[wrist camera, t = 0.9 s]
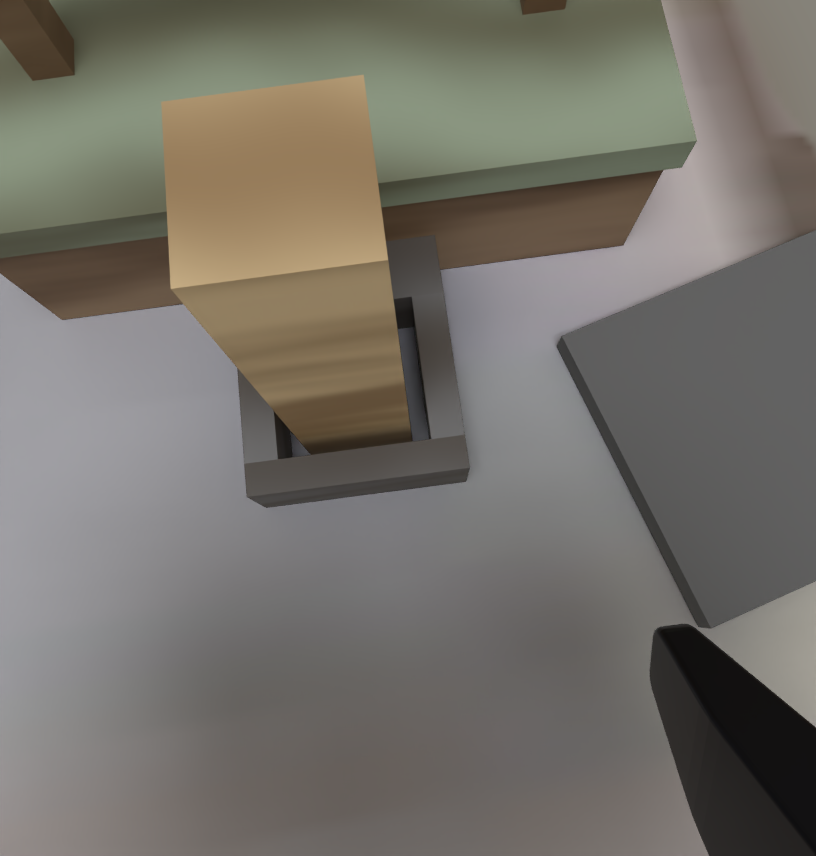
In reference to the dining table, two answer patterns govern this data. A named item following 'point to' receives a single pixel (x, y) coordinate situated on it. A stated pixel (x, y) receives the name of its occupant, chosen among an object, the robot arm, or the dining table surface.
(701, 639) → the robot arm
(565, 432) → the dining table surface
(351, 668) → the dining table surface
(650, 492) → the rubber mat
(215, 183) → the tan tall rectangular block
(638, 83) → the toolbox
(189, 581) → the dining table surface
